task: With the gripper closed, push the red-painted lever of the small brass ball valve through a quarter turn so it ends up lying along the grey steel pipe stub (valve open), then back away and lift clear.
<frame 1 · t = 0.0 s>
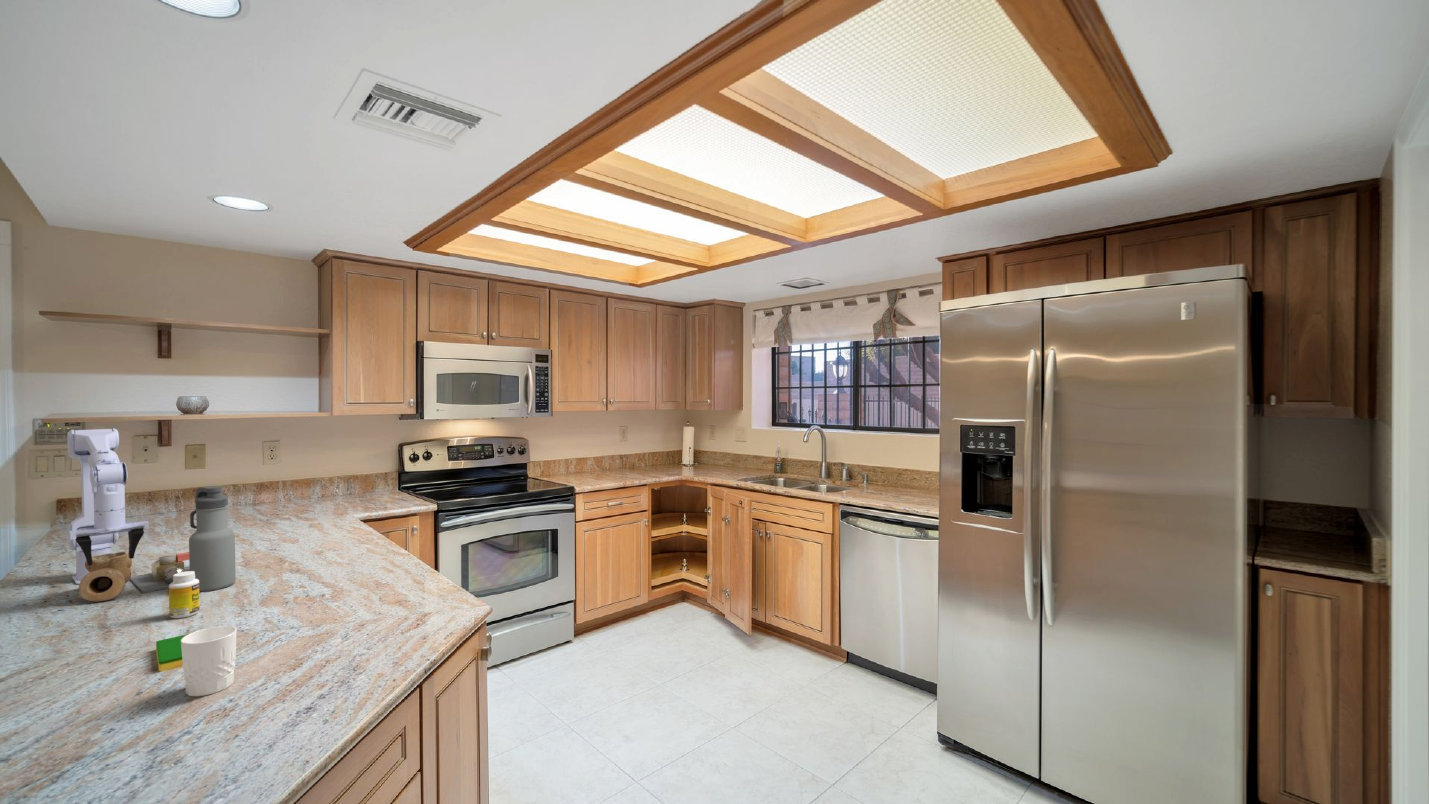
hand: (110, 561, 155), 10 cm above the worktop, fingers open, 7 cm apart
supplement bottle: (184, 615, 145), on the worktop
lever: (186, 556, 175), point 6 cm above the worktop, hinge at 0.0°
white cup: (210, 688, 110), on the worktop
dish sponge: (180, 658, 123), on the worktop
valve body: (168, 578, 172), resting on mat
water bottle: (212, 587, 166), on the worktop
mat: (175, 577, 173), on the worktop
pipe: (107, 595, 159), on the worktop
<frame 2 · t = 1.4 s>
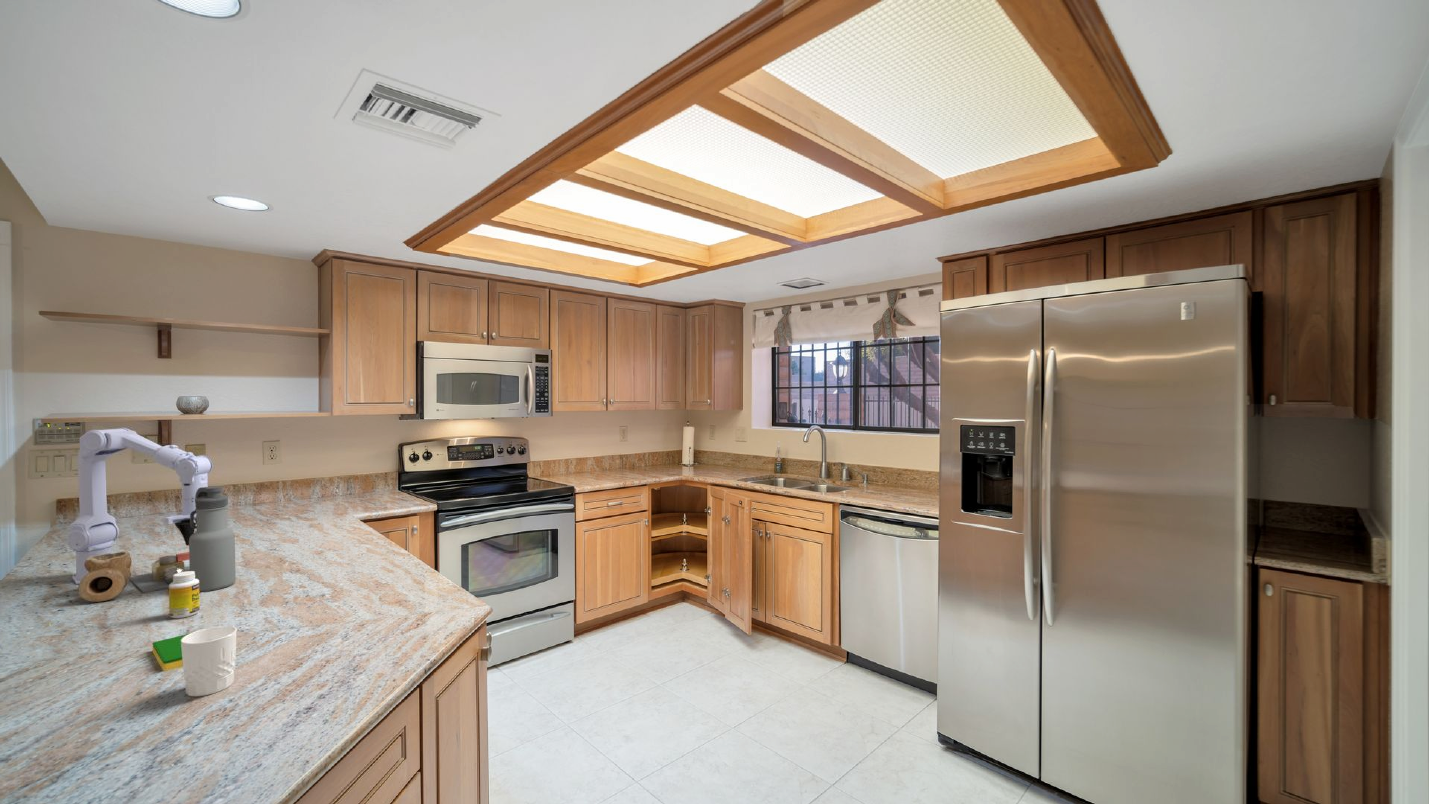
hand: (196, 543, 173), 10 cm above the worktop, fingers open, 3 cm apart
nothing on the worktop moved.
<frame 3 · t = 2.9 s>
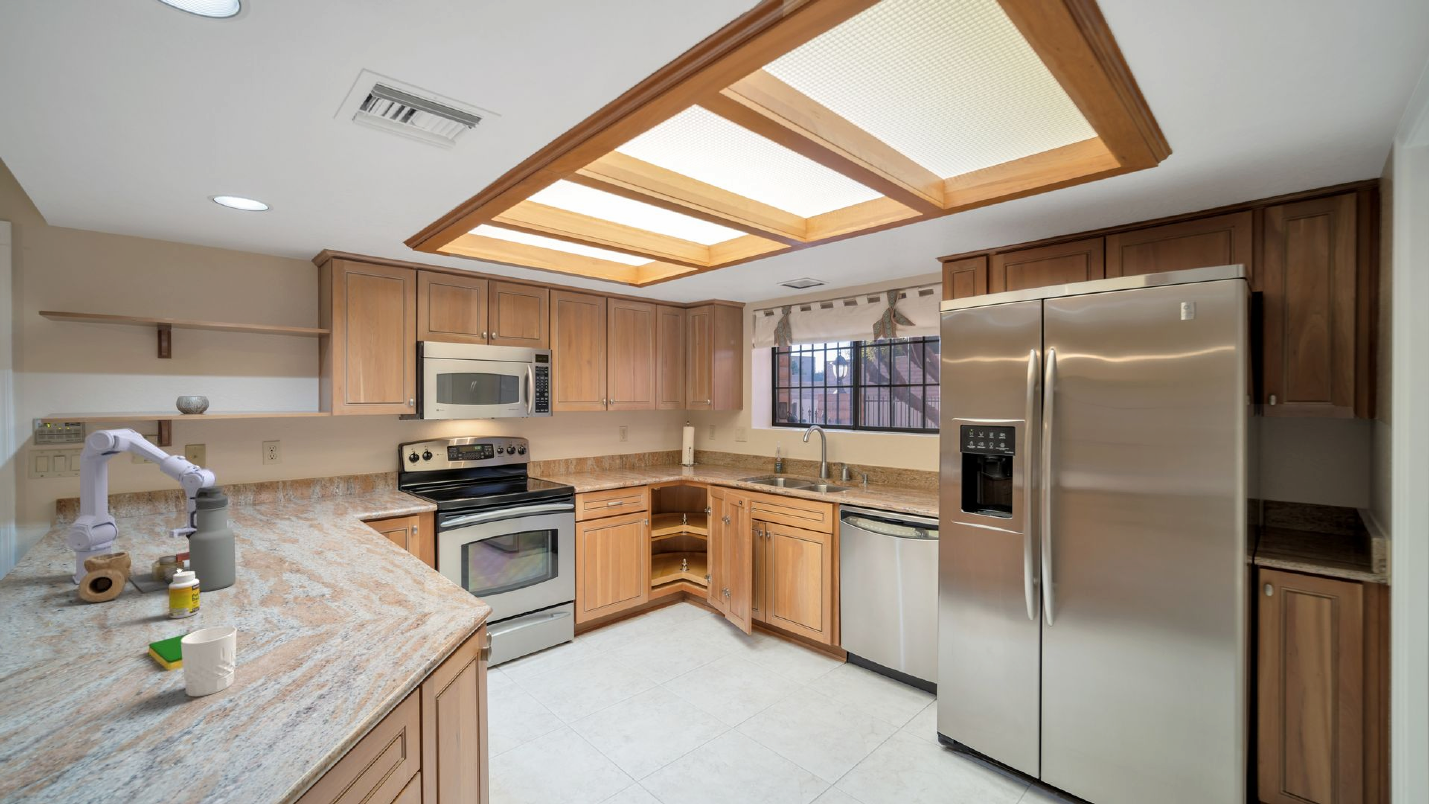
hand: (200, 556, 176), 5 cm above the worktop, fingers closed, pressing on lever
lever: (186, 556, 175), point 6 cm above the worktop, hinge at 0.4°, touching gripper
everything else where it was.
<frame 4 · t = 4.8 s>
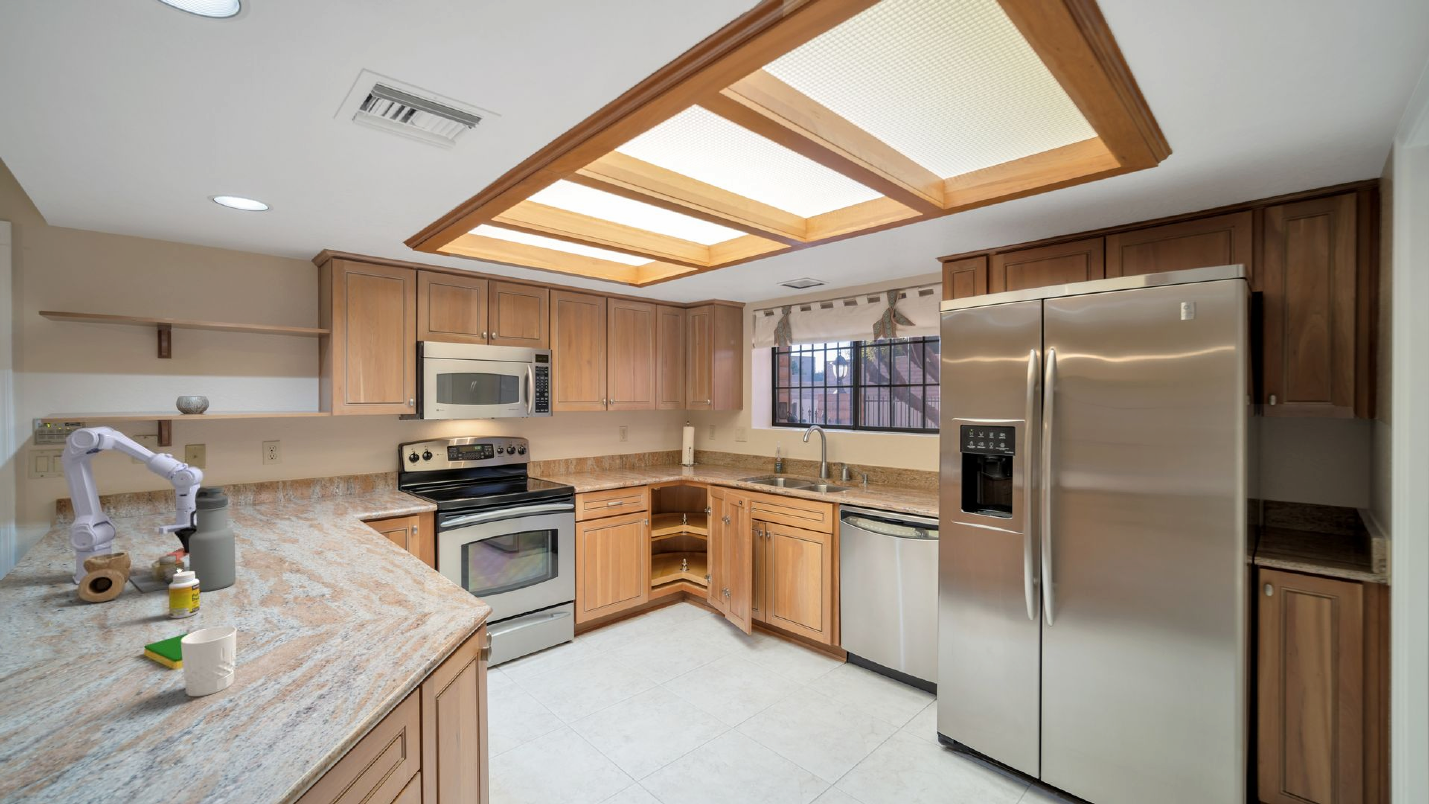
hand: (190, 552, 179), 6 cm above the worktop, fingers closed
lever: (175, 555, 176), point 6 cm above the worktop, hinge at 55.1°, touching gripper
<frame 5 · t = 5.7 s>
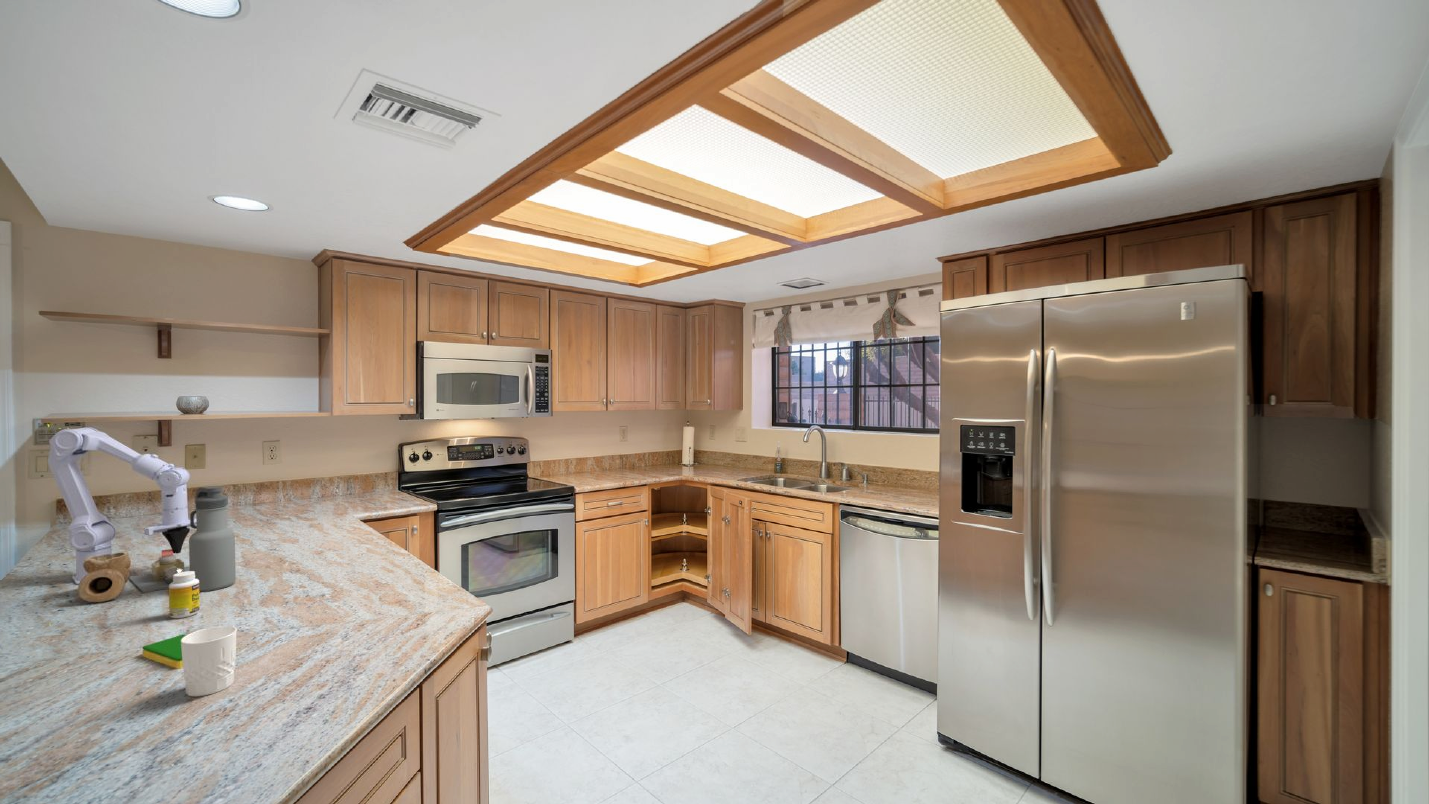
hand: (176, 553, 179), 6 cm above the worktop, fingers closed
lever: (167, 556, 175), point 6 cm above the worktop, hinge at 81.1°, touching gripper
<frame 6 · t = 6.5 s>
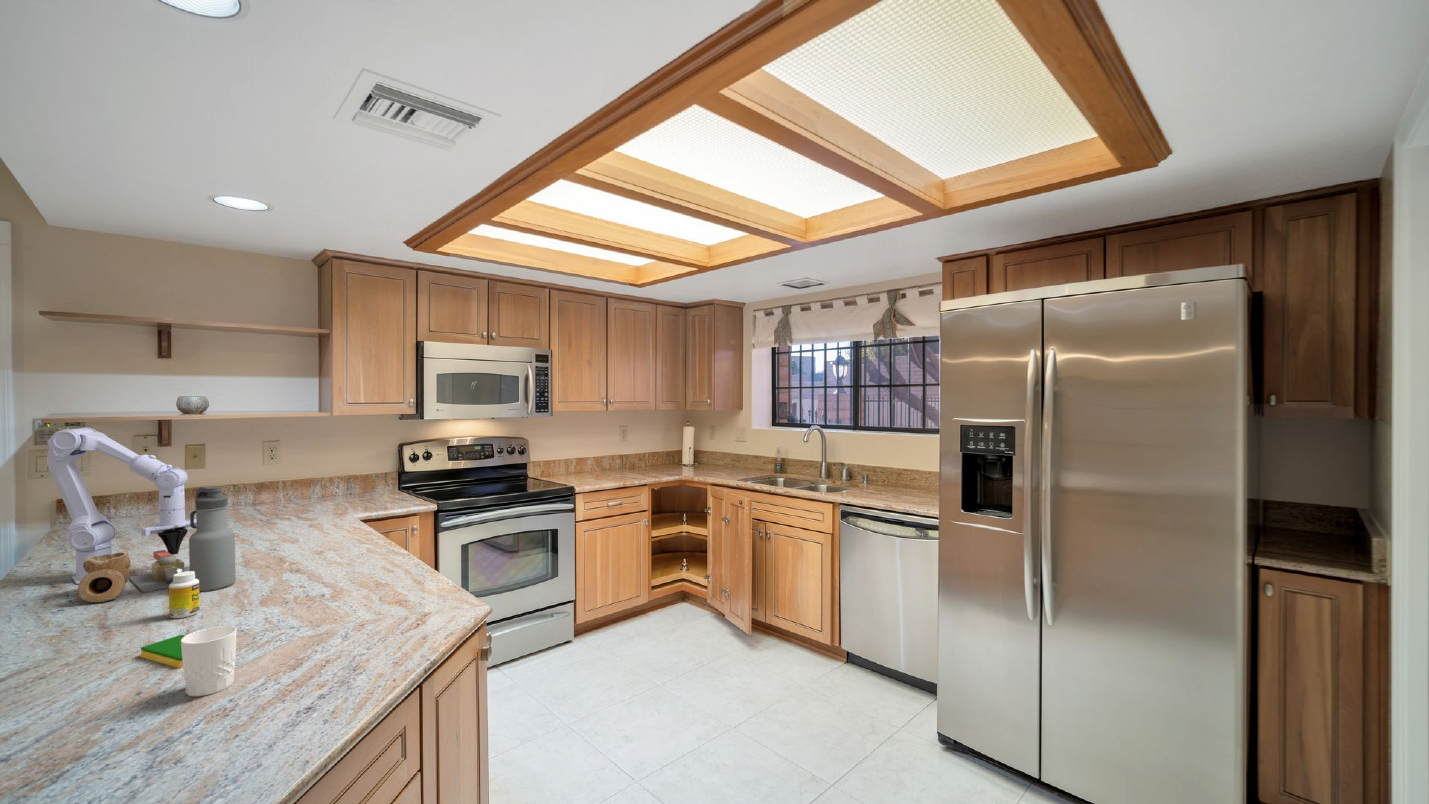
hand: (173, 554, 178), 5 cm above the worktop, fingers closed
lever: (164, 557, 174), point 6 cm above the worktop, hinge at 91.5°
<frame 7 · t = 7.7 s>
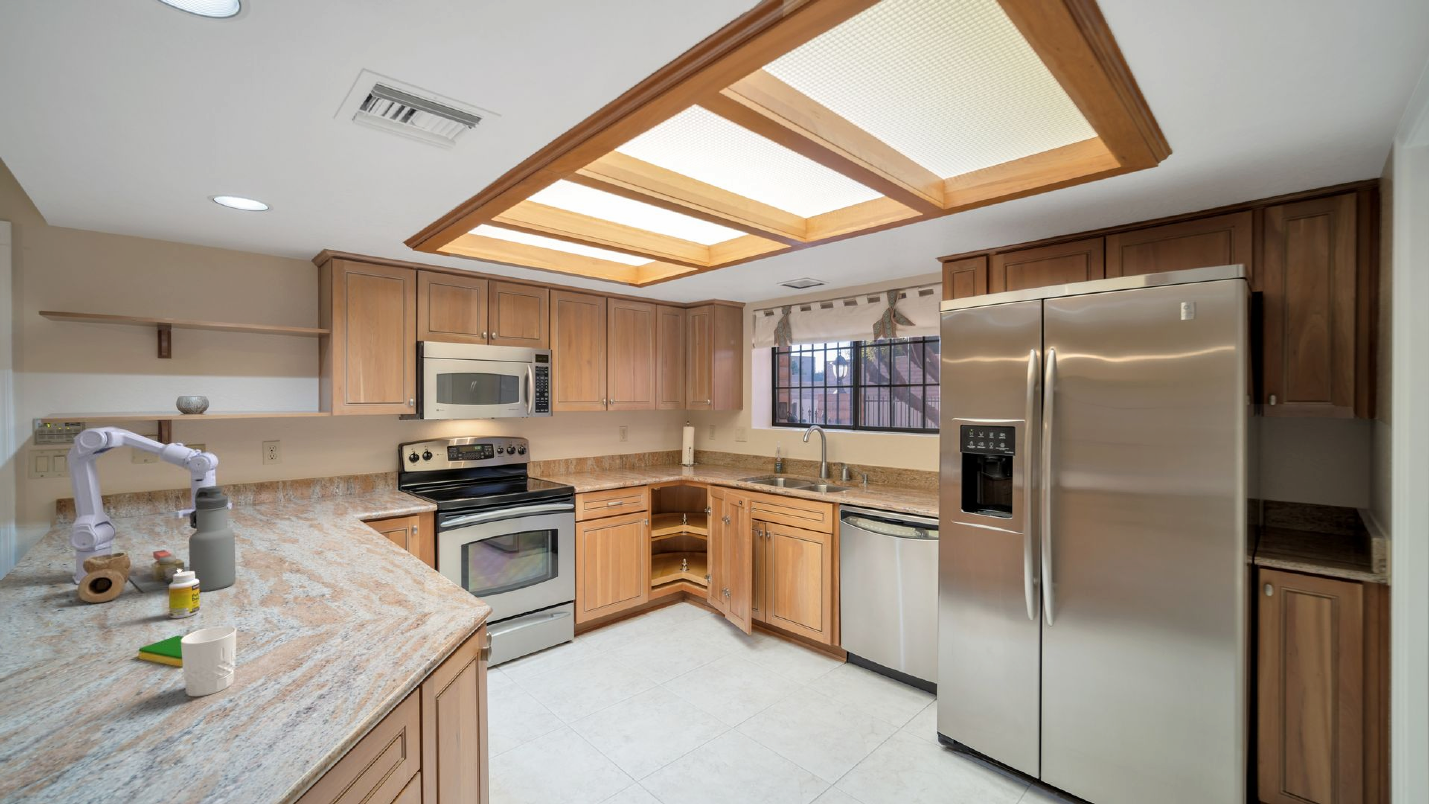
hand: (204, 537, 181), 10 cm above the worktop, fingers closed
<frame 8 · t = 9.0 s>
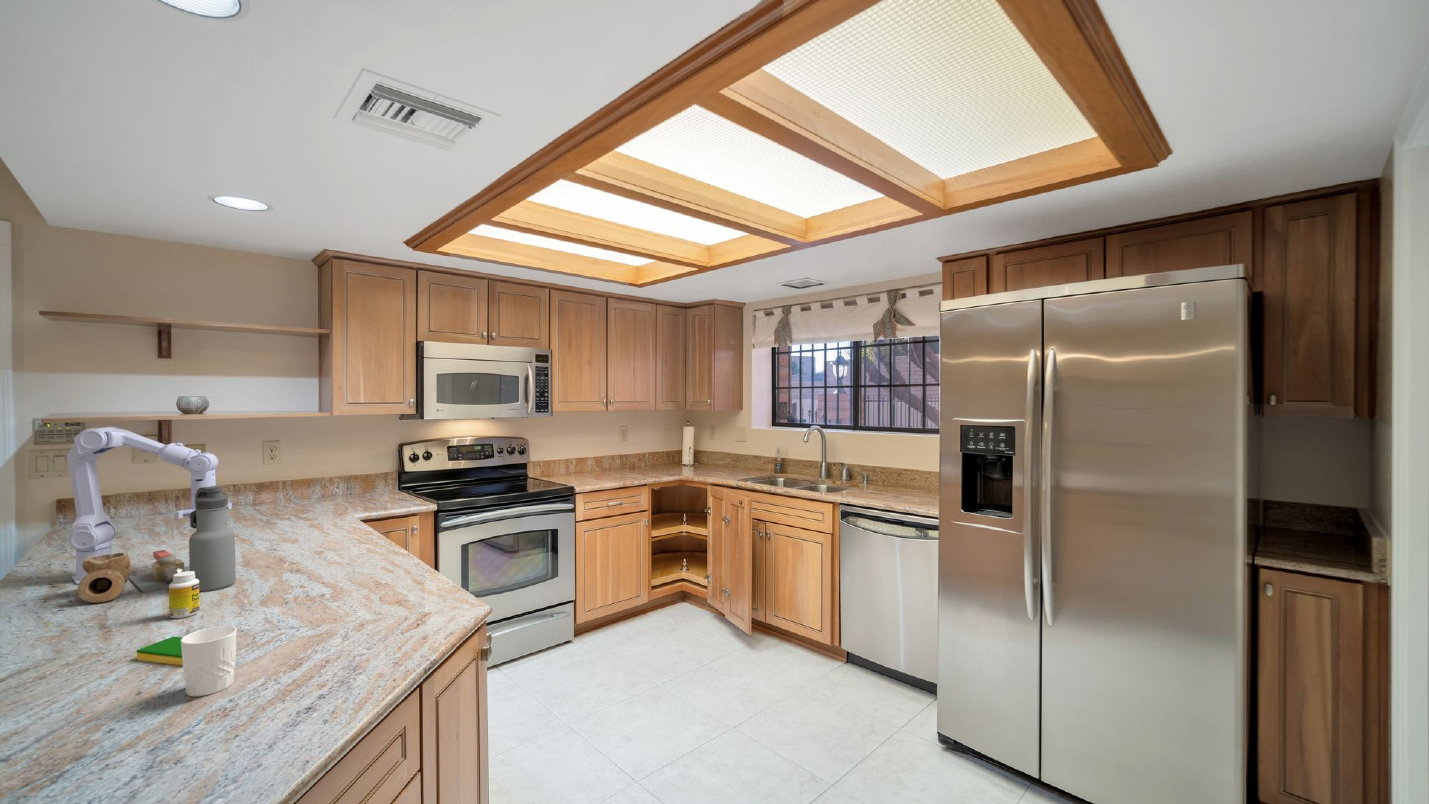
hand: (204, 537, 181), 10 cm above the worktop, fingers closed
at the end: lever at +92° (first picture: +0°) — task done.
